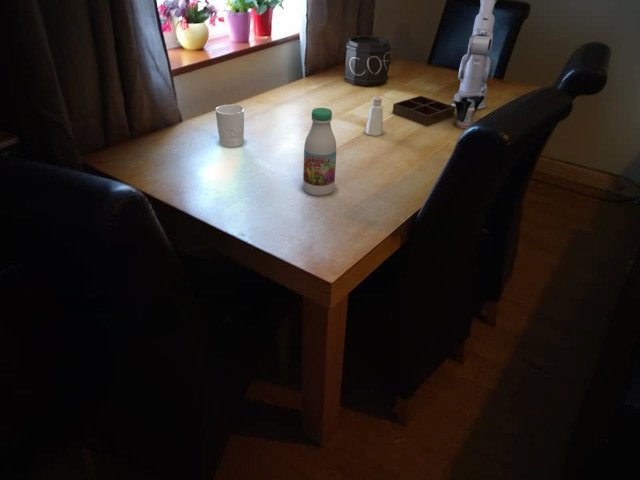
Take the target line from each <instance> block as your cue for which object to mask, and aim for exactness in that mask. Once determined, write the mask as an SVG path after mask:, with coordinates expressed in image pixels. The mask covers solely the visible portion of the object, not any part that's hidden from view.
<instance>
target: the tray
mask: <svg viewBox="0 0 640 480" xmlns="http://www.w3.org/2000/svg"><path fill="white" fill-rule="evenodd" d="M455 112H456V107H455V106H452V105H451V104H448V103H445V102H441V101H438V100H437V99H433V98H429V97H426V96H424V95H417V96H413V97H411V98H408V99H405V100H401V101H398V102H394V103H393V104H392V114H393V115H396V116H399V117H401V118H404V119H407V120H409V121H412V122H414V123H417V124H420V125H423V126H425V127H429V126H432V125H434V124H437V123H439V122H442V121H446V120H449V119H451V118H454V116H455Z"/></svg>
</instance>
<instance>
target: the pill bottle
mask: <svg viewBox="0 0 640 480" xmlns="http://www.w3.org/2000/svg"><path fill="white" fill-rule="evenodd" d="M467 100H468V101H470V102H472V103H471V105H470V106H469V108H468V111H467V113H466V117H465V119H464V121H463V122H461V121H458V120H457V119H456V123H455V124H456V126H457V127H458V128H461V129H468V128H467V127H468V126H469V125H470V124H471V125H472V124H473V120H474V116H475V114H474V111H475V108H474V105H475V101H474V100H472V99H467ZM473 115H474V116H473Z"/></svg>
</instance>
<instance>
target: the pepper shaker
mask: <svg viewBox="0 0 640 480" xmlns="http://www.w3.org/2000/svg"><path fill="white" fill-rule="evenodd" d="M382 101H383V98H382V97H381V96H374V97H372V104H371V105H370V107H369V112H368V116H367V121H366V127H365V132H364V133H365V134H366V135H368V136H371V137H372V136H373V137H377V136H382V134H383V131H384V128H383V127H384V126H383V125H384V107H383V106H382Z"/></svg>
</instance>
